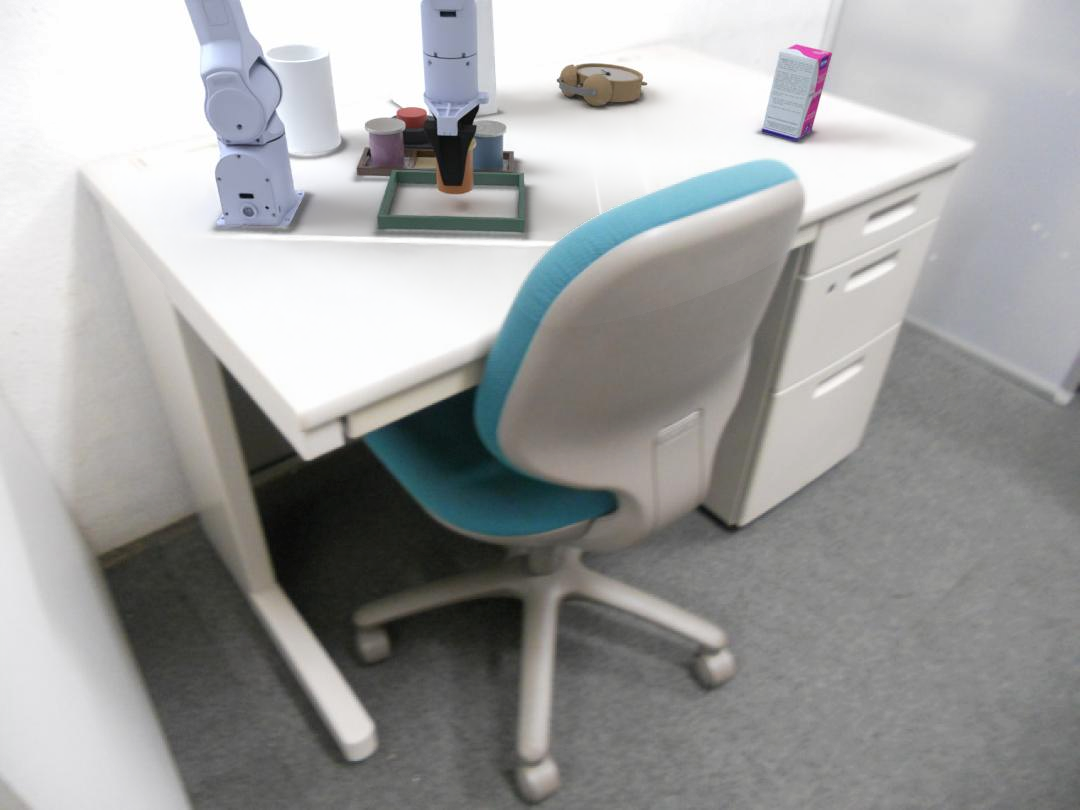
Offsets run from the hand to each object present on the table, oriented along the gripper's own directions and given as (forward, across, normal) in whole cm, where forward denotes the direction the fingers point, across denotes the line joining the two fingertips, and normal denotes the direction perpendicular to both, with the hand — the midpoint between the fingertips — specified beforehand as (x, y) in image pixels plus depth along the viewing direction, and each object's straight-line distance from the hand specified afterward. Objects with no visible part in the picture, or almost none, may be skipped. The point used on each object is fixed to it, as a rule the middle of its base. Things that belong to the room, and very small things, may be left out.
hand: (454, 175), depth 94 cm
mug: (+4, +20, +22) cm, 30 cm away
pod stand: (+4, +12, +3) cm, 13 cm away
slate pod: (+4, +12, -3) cm, 13 cm away
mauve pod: (+4, +12, +9) cm, 15 cm away
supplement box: (+4, +29, -47) cm, 55 cm away
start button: (+1, +20, +7) cm, 21 cm away
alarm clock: (+4, +43, -20) cm, 48 cm away
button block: (+4, +20, +7) cm, 22 cm away
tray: (+4, 0, 0) cm, 4 cm away
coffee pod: (+1, 0, 0) cm, 1 cm away
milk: (+4, +36, +4) cm, 36 cm away
